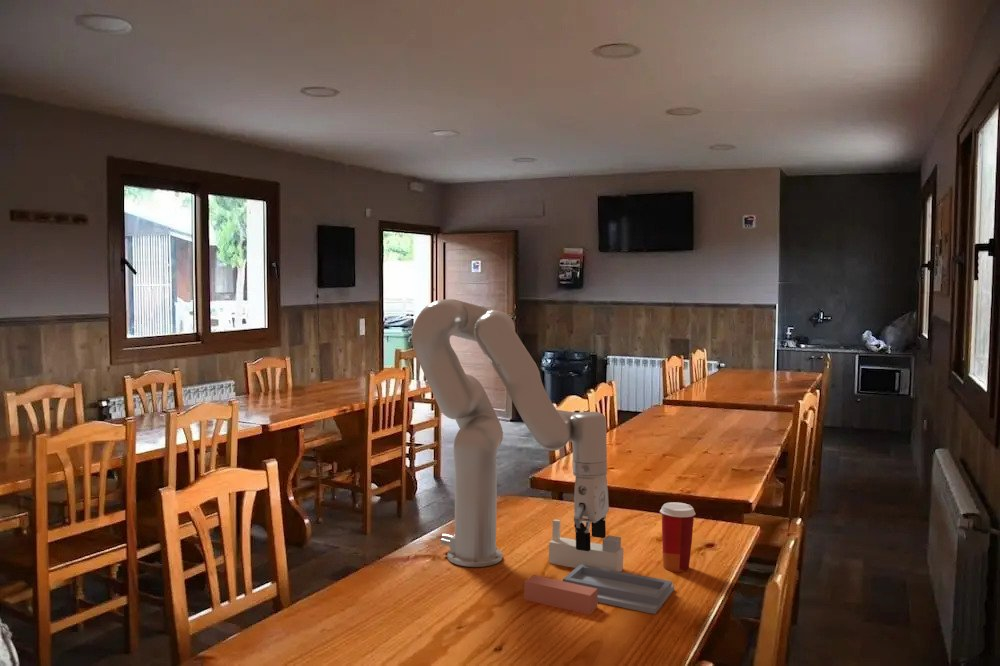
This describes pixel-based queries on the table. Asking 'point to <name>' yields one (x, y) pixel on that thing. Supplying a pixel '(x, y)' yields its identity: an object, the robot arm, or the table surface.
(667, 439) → the table surface
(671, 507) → the paper cup
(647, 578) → the tray
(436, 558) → the table surface
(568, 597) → the block
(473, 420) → the robot arm
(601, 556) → the white notched block
